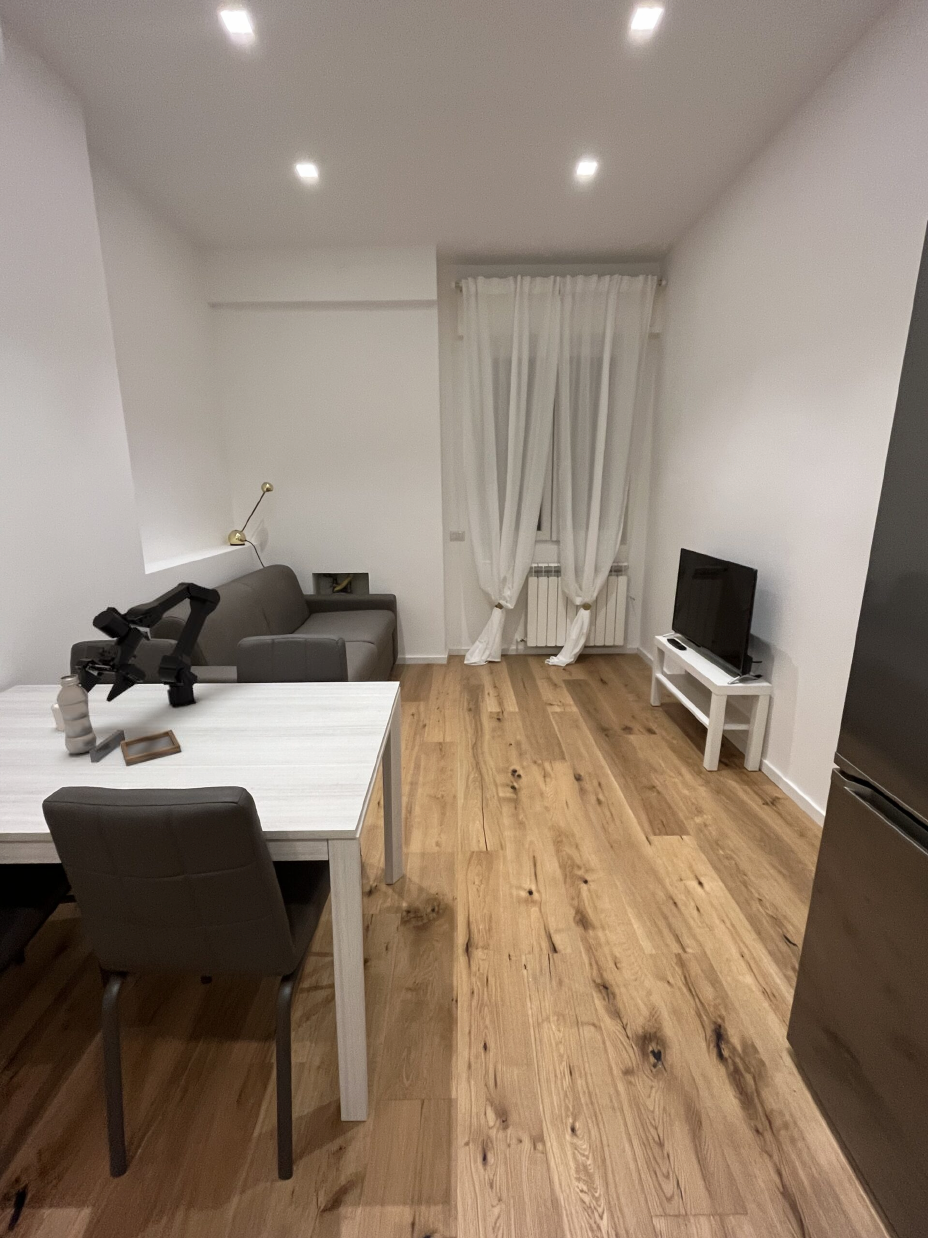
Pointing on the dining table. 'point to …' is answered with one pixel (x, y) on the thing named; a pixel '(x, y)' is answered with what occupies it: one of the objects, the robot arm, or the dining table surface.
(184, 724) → the dining table surface
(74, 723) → the plastic bottle
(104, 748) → the bar
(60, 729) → the white tapered cup
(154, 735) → the wooden tray
